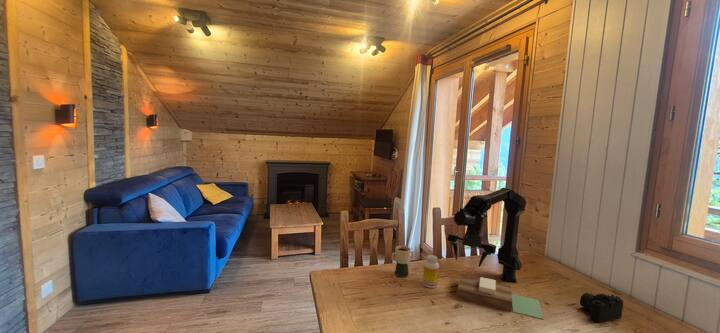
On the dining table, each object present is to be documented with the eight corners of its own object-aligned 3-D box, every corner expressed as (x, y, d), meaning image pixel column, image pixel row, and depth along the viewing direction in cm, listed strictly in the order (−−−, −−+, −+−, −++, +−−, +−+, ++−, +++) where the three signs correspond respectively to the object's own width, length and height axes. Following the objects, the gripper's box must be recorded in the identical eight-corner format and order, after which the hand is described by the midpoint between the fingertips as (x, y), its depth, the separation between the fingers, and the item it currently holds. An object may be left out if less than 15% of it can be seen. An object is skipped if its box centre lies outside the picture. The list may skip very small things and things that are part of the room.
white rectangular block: (479, 281, 129) (480, 277, 129) (495, 284, 127) (495, 280, 126) (478, 291, 121) (479, 286, 121) (495, 294, 119) (495, 289, 118)
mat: (511, 294, 127) (511, 294, 127) (538, 301, 123) (538, 300, 123) (512, 312, 114) (513, 311, 114) (543, 319, 110) (543, 318, 110)
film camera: (598, 304, 122) (601, 283, 121) (625, 318, 113) (628, 296, 112) (571, 309, 118) (573, 287, 117) (596, 324, 108) (599, 301, 107)
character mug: (409, 270, 146) (410, 244, 145) (415, 277, 139) (417, 250, 138) (388, 272, 143) (389, 246, 142) (393, 279, 136) (394, 252, 135)
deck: (460, 283, 135) (461, 274, 135) (509, 294, 127) (510, 285, 127) (456, 298, 122) (457, 288, 122) (511, 311, 114) (512, 301, 114)
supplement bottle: (438, 289, 129) (440, 261, 127) (422, 287, 130) (424, 259, 129) (437, 282, 135) (439, 254, 134) (422, 280, 137) (424, 253, 135)
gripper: (447, 222, 122) (440, 259, 122) (497, 235, 113) (489, 275, 113) (453, 220, 132) (446, 254, 132) (499, 231, 123) (492, 269, 123)
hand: (467, 263), depth 125 cm, fingers open, 9 cm apart
